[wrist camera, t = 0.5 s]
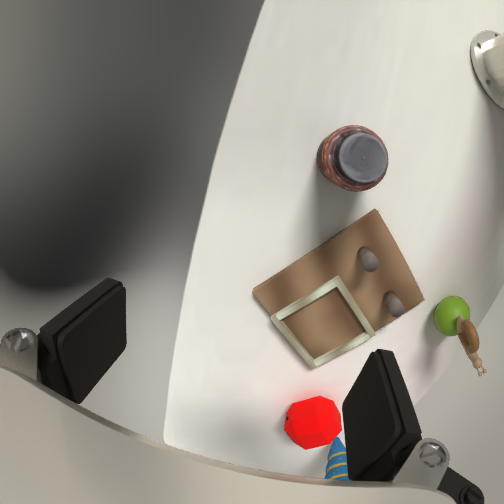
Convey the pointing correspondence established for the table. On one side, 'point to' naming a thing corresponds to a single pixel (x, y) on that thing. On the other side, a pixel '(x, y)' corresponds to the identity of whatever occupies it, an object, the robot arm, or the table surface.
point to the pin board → (341, 291)
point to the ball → (313, 422)
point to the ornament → (337, 462)
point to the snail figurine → (458, 326)
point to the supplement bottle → (353, 158)
